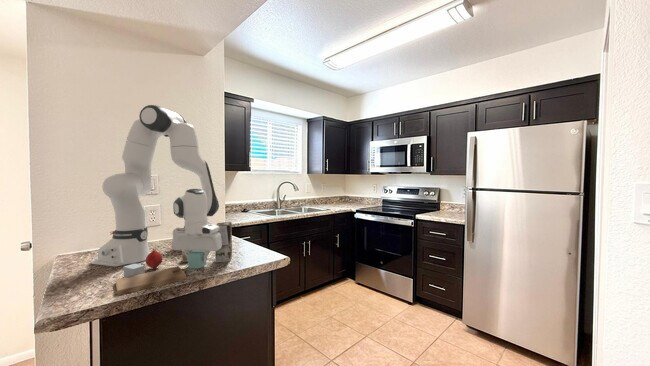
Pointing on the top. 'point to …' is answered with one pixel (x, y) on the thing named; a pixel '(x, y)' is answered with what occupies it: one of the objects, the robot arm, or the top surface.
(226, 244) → the coffee box
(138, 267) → the slate block
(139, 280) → the board
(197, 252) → the teal block
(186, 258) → the beech block
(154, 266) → the onion
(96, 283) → the top surface
